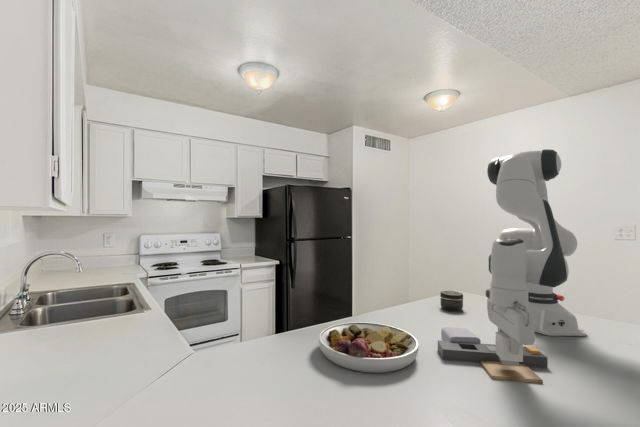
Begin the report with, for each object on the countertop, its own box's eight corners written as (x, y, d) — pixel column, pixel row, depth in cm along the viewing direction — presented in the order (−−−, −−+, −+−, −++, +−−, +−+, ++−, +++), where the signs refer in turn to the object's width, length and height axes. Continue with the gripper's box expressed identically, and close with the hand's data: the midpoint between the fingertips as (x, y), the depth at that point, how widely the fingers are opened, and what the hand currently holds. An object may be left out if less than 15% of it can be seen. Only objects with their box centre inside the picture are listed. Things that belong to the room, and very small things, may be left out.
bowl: (334, 331, 114) (335, 310, 115) (420, 343, 104) (420, 319, 105) (303, 366, 86) (303, 338, 86) (416, 387, 76) (416, 355, 76)
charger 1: (461, 335, 112) (480, 352, 97) (435, 334, 113) (450, 351, 98) (461, 322, 112) (480, 337, 97) (435, 321, 113) (450, 336, 98)
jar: (443, 305, 153) (443, 289, 154) (465, 308, 148) (465, 292, 148) (437, 309, 145) (437, 293, 145) (460, 313, 139) (460, 296, 140)
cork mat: (525, 367, 87) (525, 364, 87) (542, 383, 78) (542, 380, 79) (479, 363, 89) (479, 360, 89) (491, 378, 80) (491, 375, 80)
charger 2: (515, 360, 86) (514, 332, 86) (522, 367, 81) (522, 338, 82) (495, 358, 87) (495, 331, 87) (502, 366, 82) (502, 337, 82)
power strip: (534, 357, 94) (534, 344, 94) (547, 368, 87) (547, 354, 87) (437, 349, 98) (437, 337, 98) (442, 359, 91) (442, 346, 91)
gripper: (542, 308, 74) (542, 367, 73) (505, 290, 94) (505, 336, 94) (513, 307, 75) (514, 365, 74) (483, 289, 95) (483, 334, 95)
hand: (509, 348), depth 84 cm, fingers closed on charger 2, 4 cm apart
